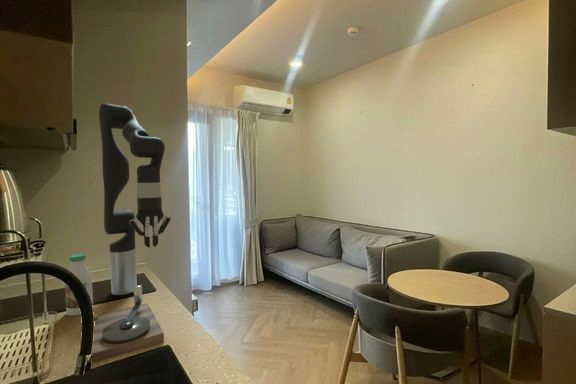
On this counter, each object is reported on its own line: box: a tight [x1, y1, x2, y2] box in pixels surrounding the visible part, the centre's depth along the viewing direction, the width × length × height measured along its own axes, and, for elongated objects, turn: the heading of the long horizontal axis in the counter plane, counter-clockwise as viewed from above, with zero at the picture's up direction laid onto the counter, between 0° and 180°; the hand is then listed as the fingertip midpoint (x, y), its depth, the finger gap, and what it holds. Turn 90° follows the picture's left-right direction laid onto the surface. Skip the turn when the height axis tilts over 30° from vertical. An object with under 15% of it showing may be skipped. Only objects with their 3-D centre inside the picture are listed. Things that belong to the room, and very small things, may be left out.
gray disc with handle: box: [102, 284, 150, 343], centre depth 90 cm, size 22×12×8 cm, turn 15°
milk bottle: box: [64, 253, 94, 317], centre depth 104 cm, size 8×8×20 cm
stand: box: [92, 303, 165, 364], centre depth 89 cm, size 24×18×4 cm
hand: (151, 246), depth 102 cm, fingers closed
